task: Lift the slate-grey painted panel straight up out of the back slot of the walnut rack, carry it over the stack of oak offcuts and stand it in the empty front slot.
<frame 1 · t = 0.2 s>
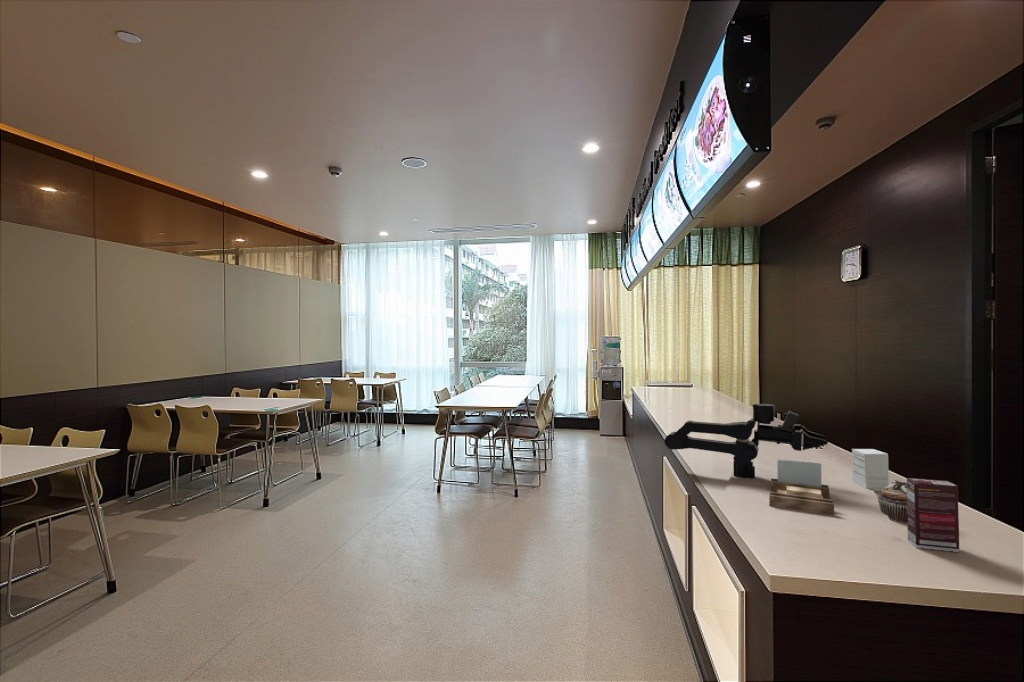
hand: (826, 440, 158), 17 cm above the table, tool horizontal, fingers open, 9 cm apart
supplement box 2: (870, 489, 159), on the table
rack: (799, 503, 146), on the table
cupcake: (899, 518, 134), on the table
supplement box: (932, 547, 115), on the table
panel: (799, 492, 152), point 1 cm above the table, touching rack
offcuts: (799, 499, 146), point 1 cm above the table, touching rack
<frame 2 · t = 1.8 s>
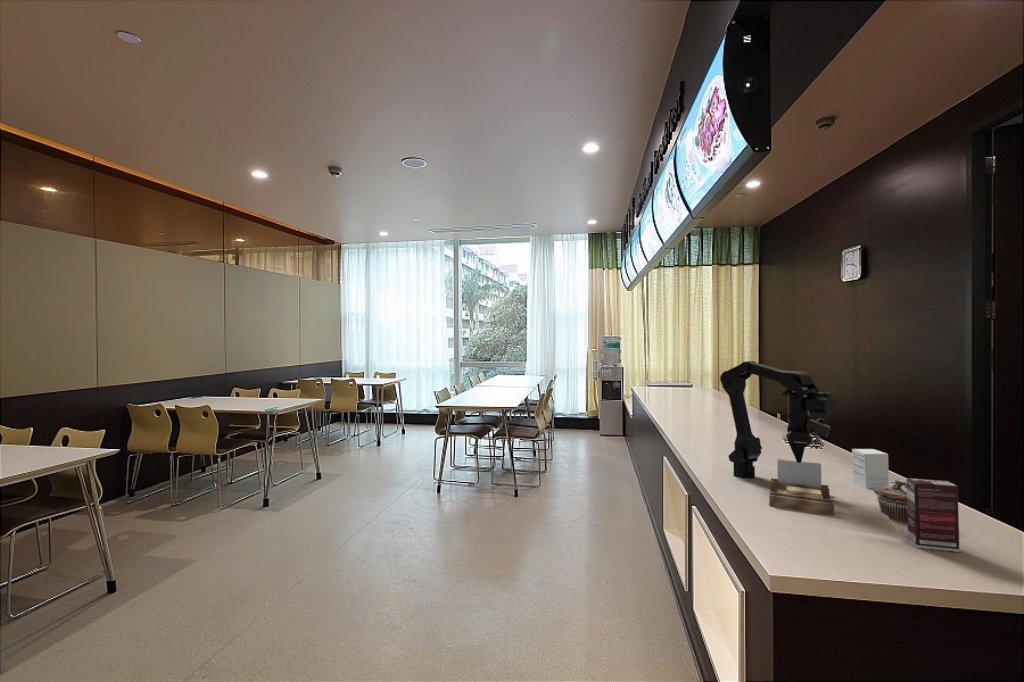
hand: (798, 459, 152), 12 cm above the table, tool pointing down, fingers open, 9 cm apart
nothing on the table moved.
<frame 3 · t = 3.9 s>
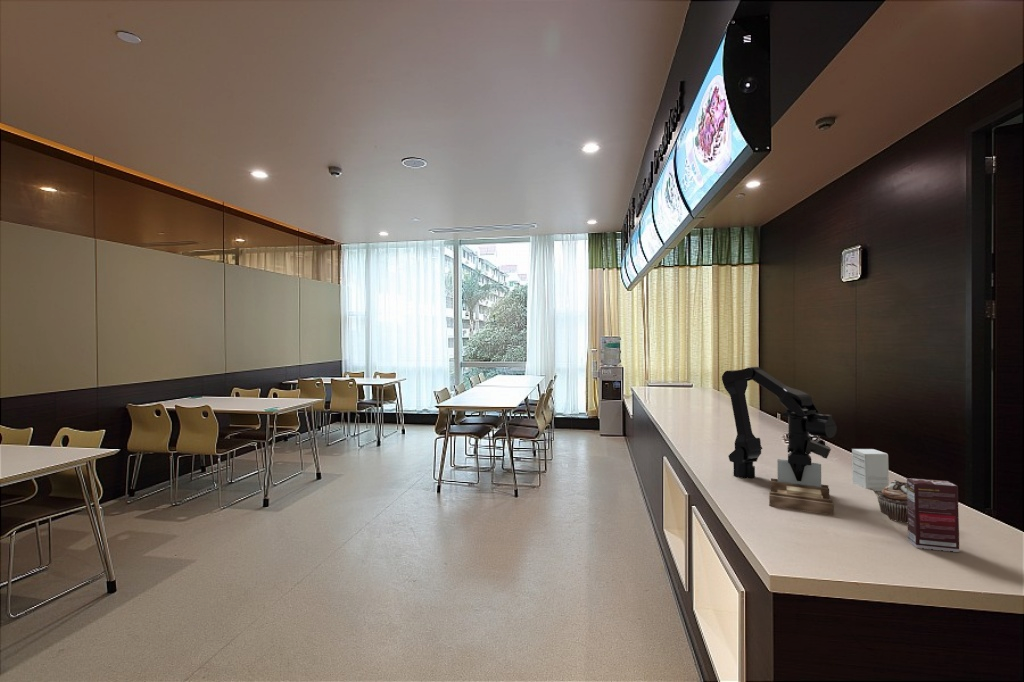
hand: (798, 480, 152), 5 cm above the table, tool pointing down, fingers closed on panel, 2 cm apart
panel: (799, 492, 152), point 1 cm above the table, touching gripper, rack
everything else where it was.
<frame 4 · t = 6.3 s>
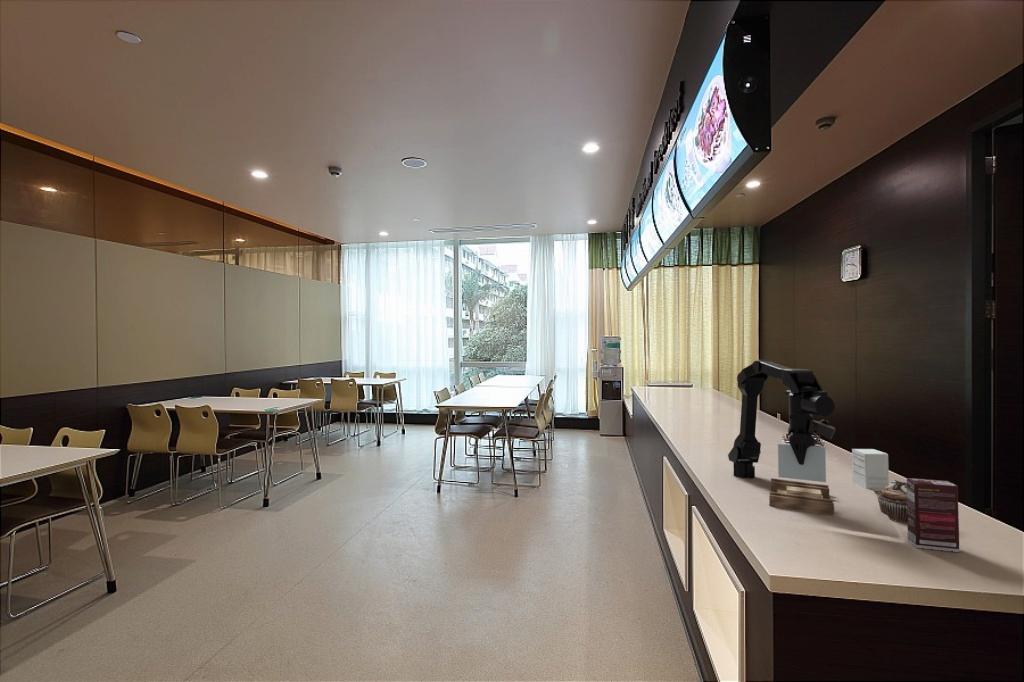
hand: (801, 463, 141), 13 cm above the table, tool pointing down, fingers closed on panel
panel: (801, 479, 141), point 9 cm above the table, touching gripper
everything else where it was.
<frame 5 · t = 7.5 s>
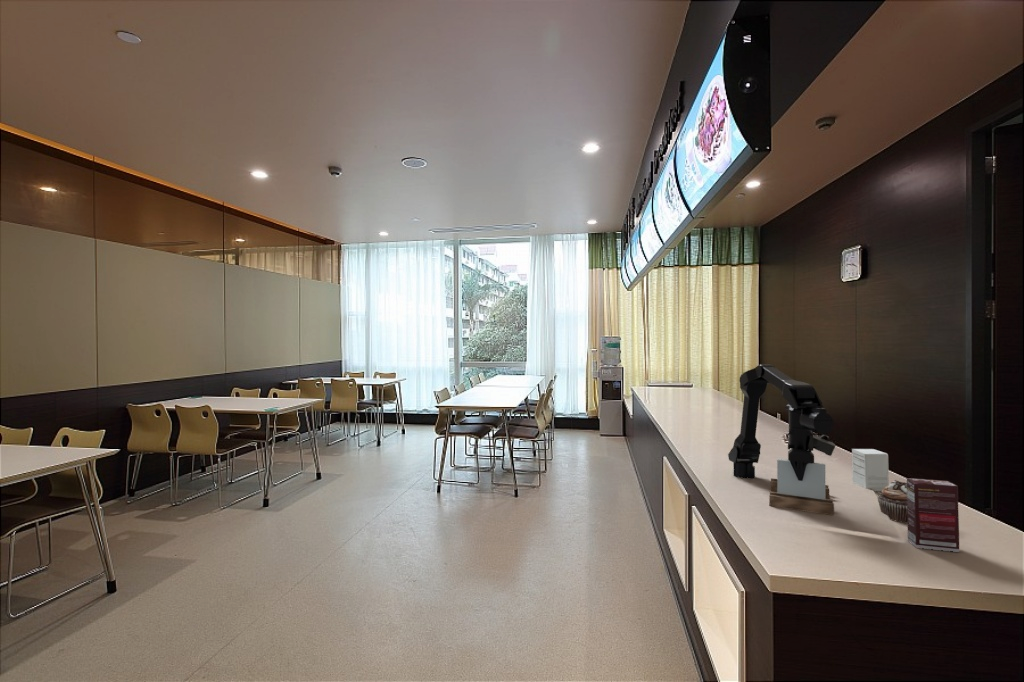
hand: (800, 479, 139), 9 cm above the table, tool pointing down, fingers closed on panel
panel: (800, 495, 139), point 5 cm above the table, touching gripper
everything else where it was.
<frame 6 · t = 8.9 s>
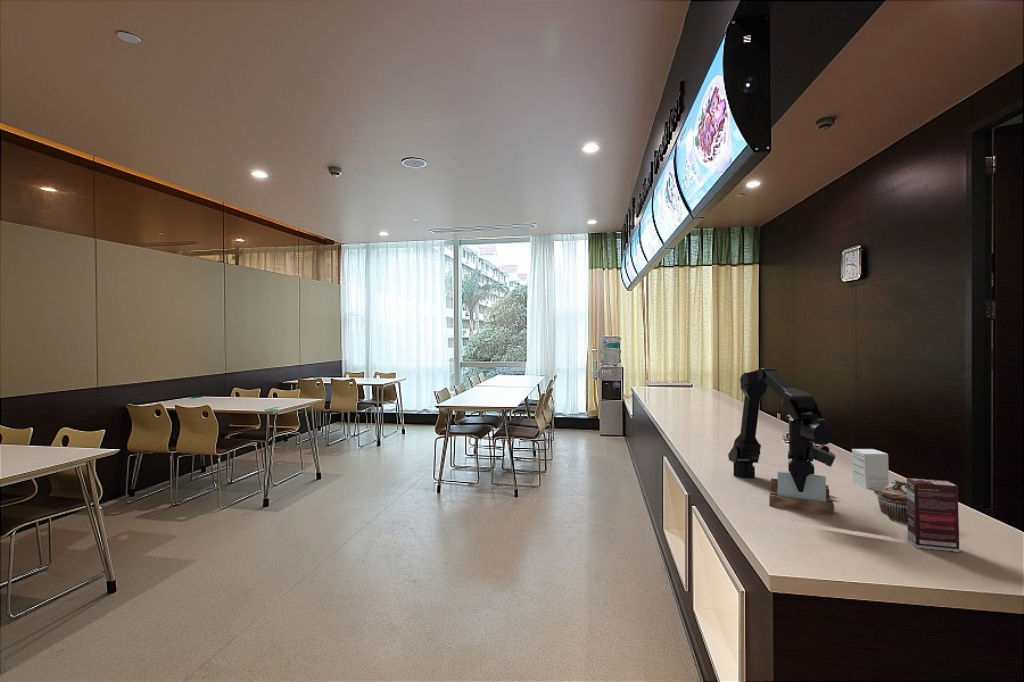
hand: (800, 490, 139), 6 cm above the table, tool pointing down, fingers open, 3 cm apart
panel: (801, 507, 139), point 1 cm above the table, touching rack
everything else where it was.
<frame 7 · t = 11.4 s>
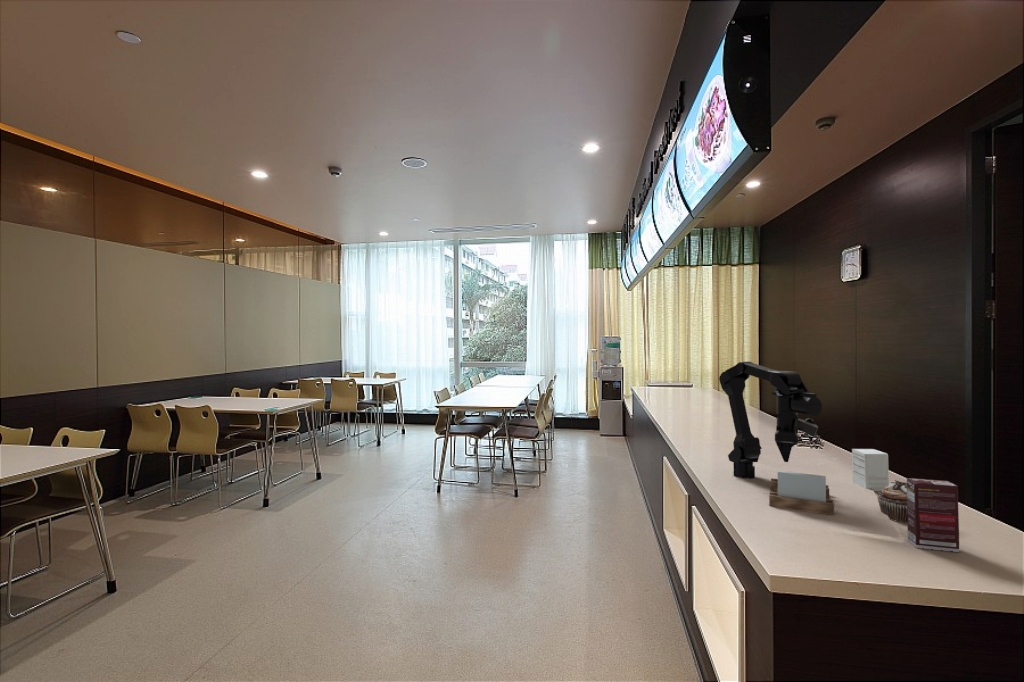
hand: (786, 458, 153), 12 cm above the table, tool pointing down, fingers open, 9 cm apart
nothing on the table moved.
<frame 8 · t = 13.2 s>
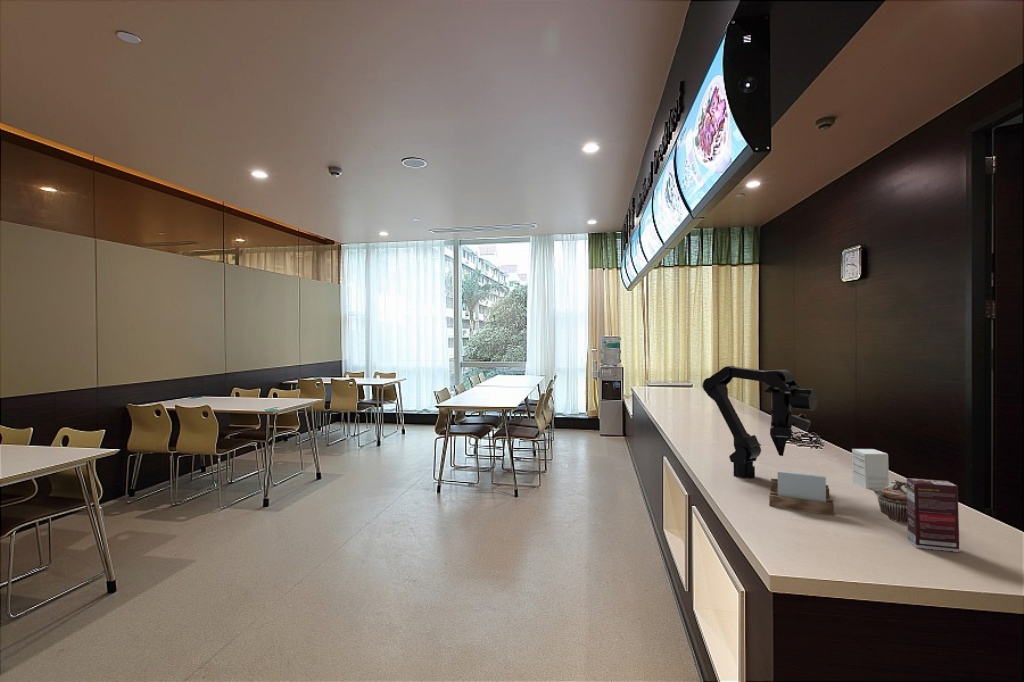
hand: (781, 452, 160), 12 cm above the table, tool pointing down, fingers open, 9 cm apart
nothing on the table moved.
at the end: panel 0.2 cm from the target spot on the rack, point 1.0 cm above the rack's base; panel tilted 0°; the gripper is holding nothing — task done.
